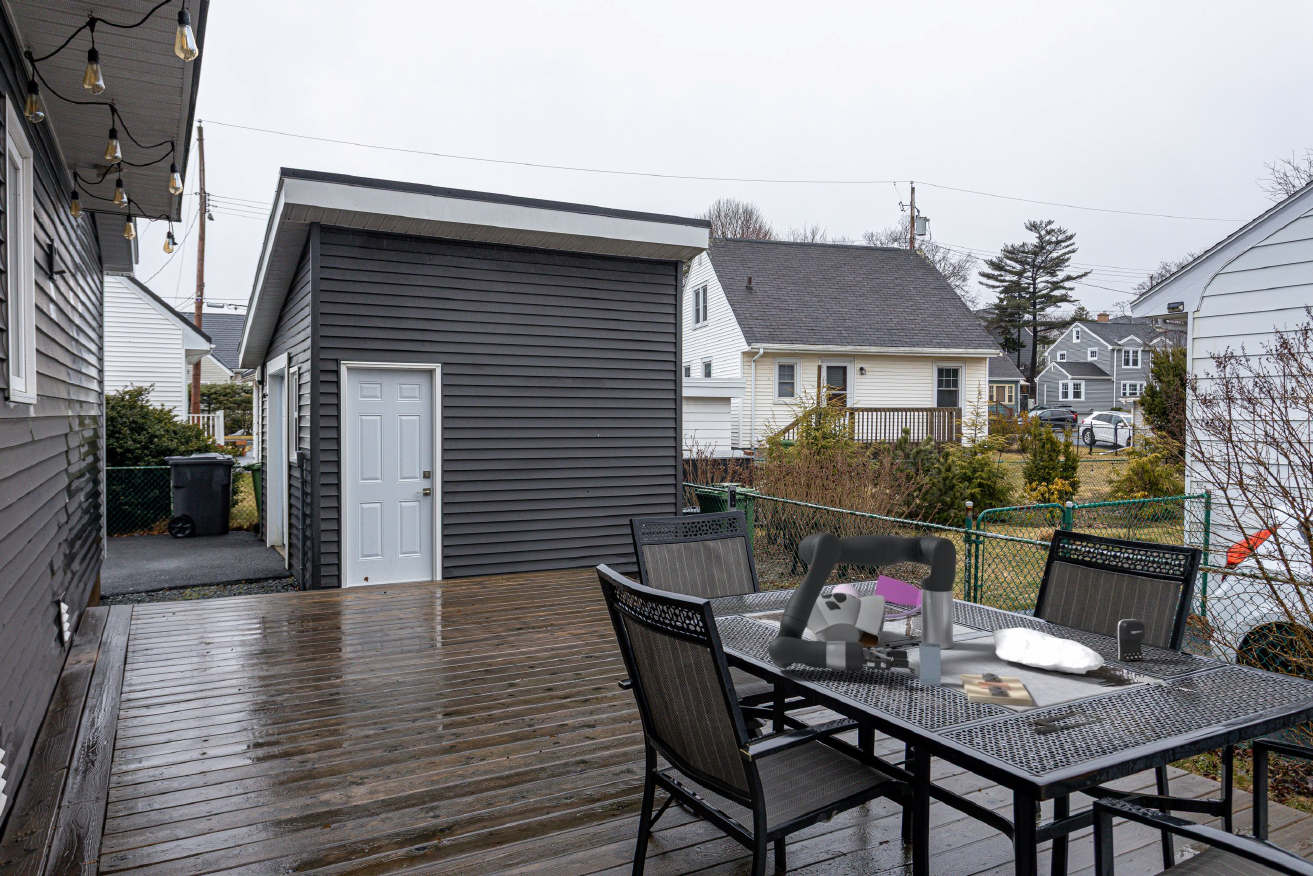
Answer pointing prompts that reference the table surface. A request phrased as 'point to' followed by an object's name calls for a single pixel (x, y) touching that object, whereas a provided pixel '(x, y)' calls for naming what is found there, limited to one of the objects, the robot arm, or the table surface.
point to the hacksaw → (1054, 728)
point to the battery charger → (1130, 639)
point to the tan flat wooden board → (995, 689)
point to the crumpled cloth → (1045, 651)
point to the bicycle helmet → (848, 618)
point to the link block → (930, 664)
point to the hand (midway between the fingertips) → (907, 659)
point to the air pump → (890, 593)
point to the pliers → (1156, 682)
